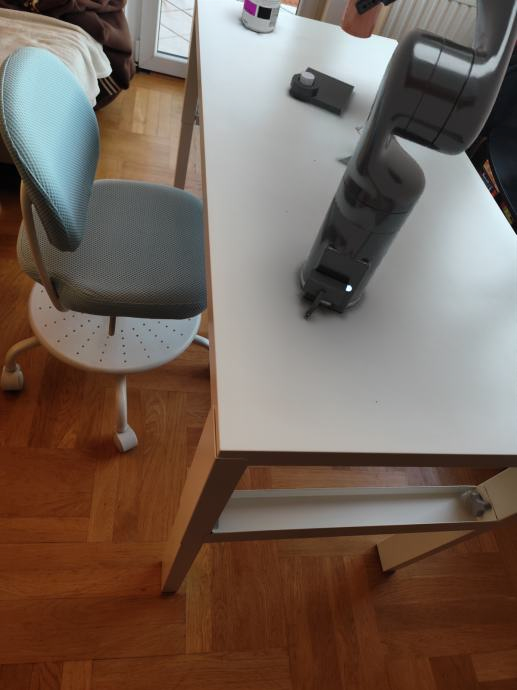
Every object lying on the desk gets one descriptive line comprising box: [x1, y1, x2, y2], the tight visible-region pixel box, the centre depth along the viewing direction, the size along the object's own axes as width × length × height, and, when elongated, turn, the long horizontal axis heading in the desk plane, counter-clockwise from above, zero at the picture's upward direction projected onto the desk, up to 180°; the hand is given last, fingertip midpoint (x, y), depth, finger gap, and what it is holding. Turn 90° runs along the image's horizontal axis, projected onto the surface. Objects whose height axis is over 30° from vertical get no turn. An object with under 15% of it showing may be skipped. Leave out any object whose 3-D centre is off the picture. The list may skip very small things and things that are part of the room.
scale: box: [289, 66, 355, 117], centre depth 102 cm, size 13×12×3 cm
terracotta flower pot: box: [339, 0, 384, 39], centre depth 88 cm, size 6×6×8 cm
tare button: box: [299, 71, 315, 86], centre depth 98 cm, size 3×3×2 cm
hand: (356, 1), depth 88 cm, fingers closed on terracotta flower pot, 6 cm apart
